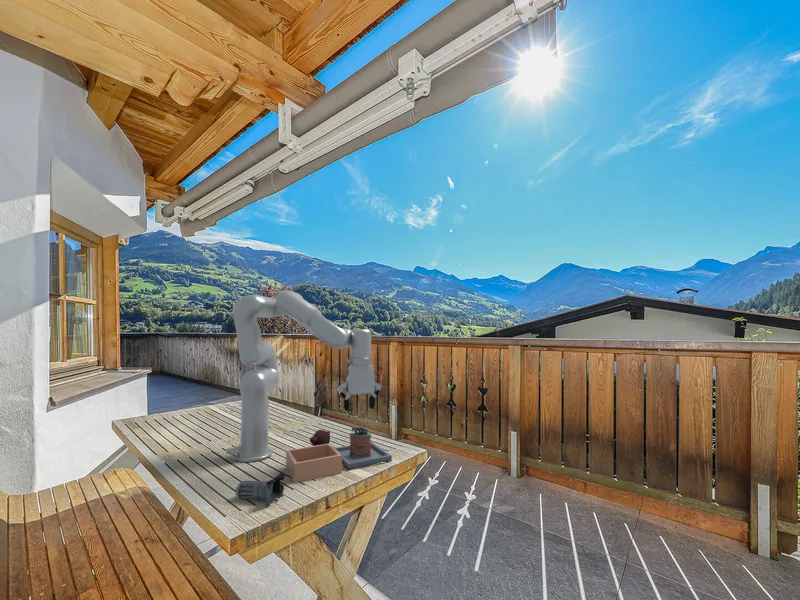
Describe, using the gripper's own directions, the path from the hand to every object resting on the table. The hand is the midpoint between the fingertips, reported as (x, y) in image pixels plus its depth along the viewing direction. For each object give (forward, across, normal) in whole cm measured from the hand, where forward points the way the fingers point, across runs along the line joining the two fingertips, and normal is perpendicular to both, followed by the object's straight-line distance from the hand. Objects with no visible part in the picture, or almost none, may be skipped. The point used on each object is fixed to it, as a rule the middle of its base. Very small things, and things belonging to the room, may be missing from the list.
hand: (359, 409), depth 125 cm
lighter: (+16, +1, 0) cm, 16 cm away
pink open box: (+17, -17, -4) cm, 25 cm away
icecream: (+18, -9, +18) cm, 27 cm away
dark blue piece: (+18, -35, -16) cm, 43 cm away
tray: (+17, +1, 0) cm, 17 cm away
